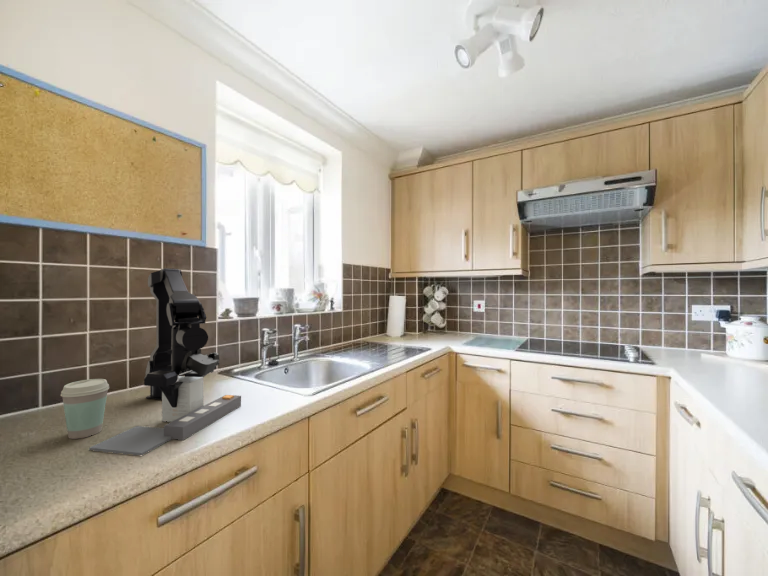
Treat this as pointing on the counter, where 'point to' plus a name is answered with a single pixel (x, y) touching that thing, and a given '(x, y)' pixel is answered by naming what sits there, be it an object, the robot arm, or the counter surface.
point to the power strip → (201, 417)
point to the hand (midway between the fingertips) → (183, 403)
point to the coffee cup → (84, 407)
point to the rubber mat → (133, 441)
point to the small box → (184, 399)
